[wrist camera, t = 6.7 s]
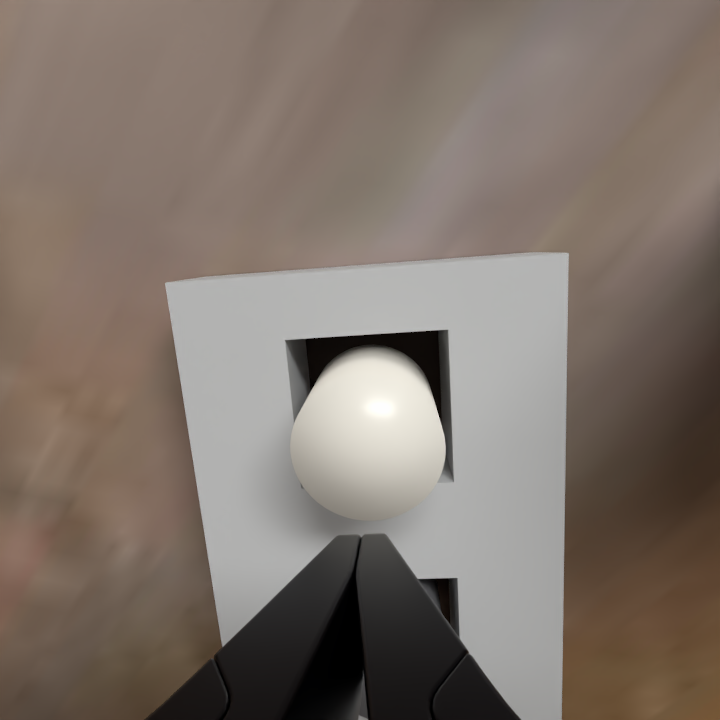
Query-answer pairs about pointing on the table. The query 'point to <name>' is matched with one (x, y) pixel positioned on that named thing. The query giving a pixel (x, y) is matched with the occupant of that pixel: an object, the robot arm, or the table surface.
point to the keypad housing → (459, 423)
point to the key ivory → (369, 435)
